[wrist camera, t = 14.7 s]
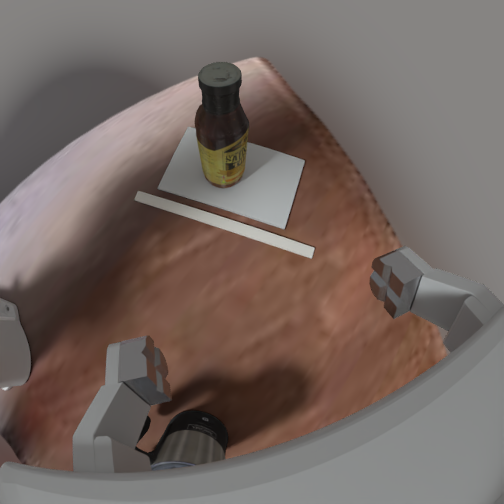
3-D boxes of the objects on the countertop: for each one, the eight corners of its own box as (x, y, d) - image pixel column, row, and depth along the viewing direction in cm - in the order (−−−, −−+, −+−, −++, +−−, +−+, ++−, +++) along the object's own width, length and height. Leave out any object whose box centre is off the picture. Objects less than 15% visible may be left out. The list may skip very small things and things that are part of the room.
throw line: (134, 200, 39) (134, 200, 39) (138, 191, 40) (138, 190, 39) (311, 258, 39) (311, 258, 39) (314, 248, 40) (314, 247, 39)
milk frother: (231, 413, 35) (229, 467, 20) (227, 488, 32) (225, 547, 17) (136, 399, 34) (93, 440, 19) (143, 476, 31) (115, 526, 17)
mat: (158, 189, 40) (157, 188, 39) (188, 128, 42) (188, 126, 42) (284, 229, 40) (284, 228, 39) (304, 161, 42) (304, 160, 42)
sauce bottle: (233, 196, 40) (232, 109, 20) (196, 180, 40) (169, 90, 20) (252, 161, 41) (263, 66, 21) (216, 147, 41) (206, 50, 22)
